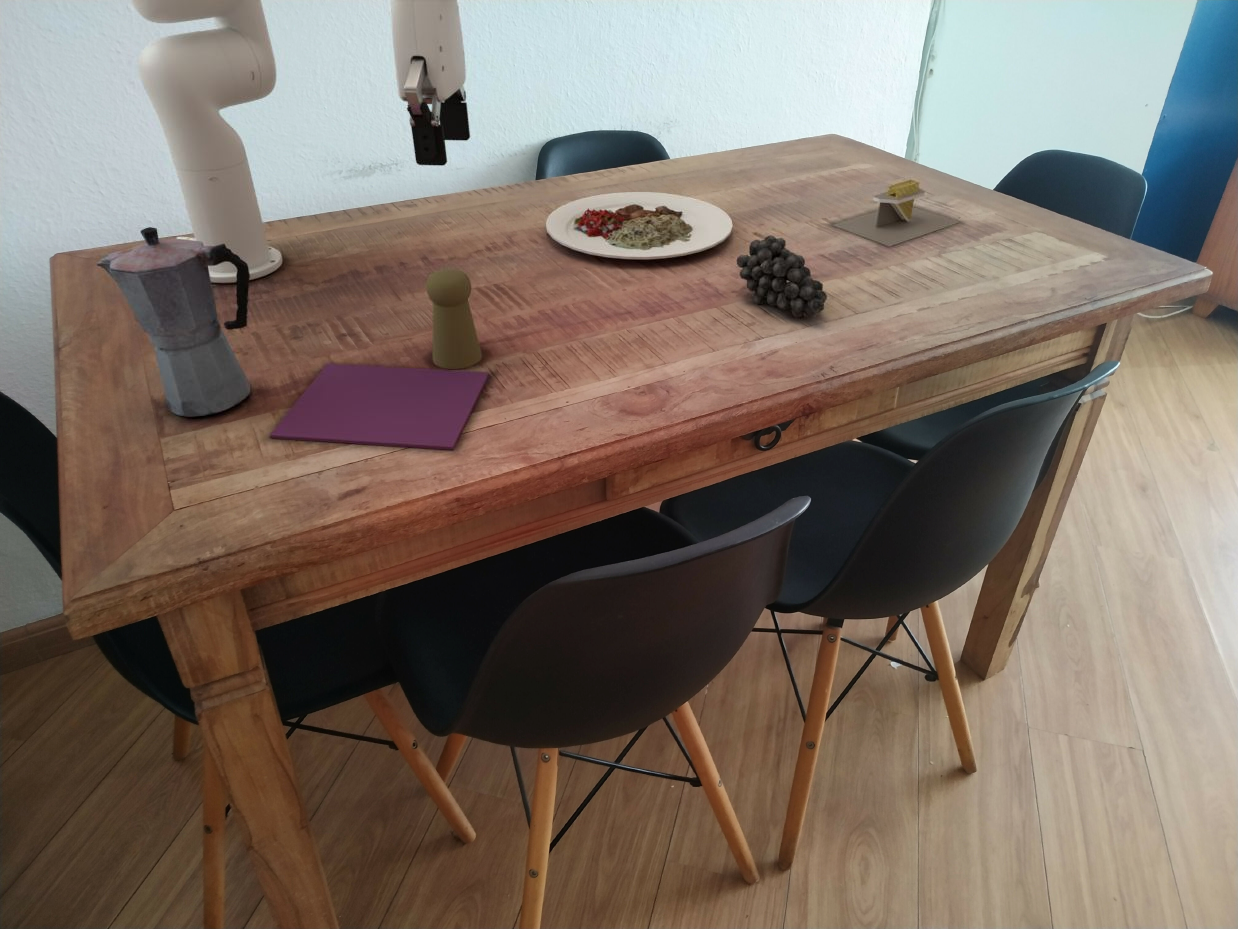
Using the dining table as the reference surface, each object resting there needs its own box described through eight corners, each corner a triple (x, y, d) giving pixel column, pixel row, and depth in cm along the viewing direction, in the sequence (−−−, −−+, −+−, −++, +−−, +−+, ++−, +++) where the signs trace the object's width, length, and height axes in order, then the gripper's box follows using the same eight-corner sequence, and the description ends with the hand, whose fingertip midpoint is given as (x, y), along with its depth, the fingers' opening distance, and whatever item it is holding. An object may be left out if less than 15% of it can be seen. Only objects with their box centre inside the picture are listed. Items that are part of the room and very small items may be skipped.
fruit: (842, 258, 111) (770, 219, 122) (789, 290, 110) (721, 248, 120) (849, 313, 117) (779, 271, 128) (799, 344, 116) (733, 299, 126)
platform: (959, 222, 148) (968, 182, 144) (889, 246, 139) (896, 205, 135) (901, 203, 156) (908, 165, 152) (831, 224, 147) (837, 185, 143)
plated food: (759, 258, 135) (761, 236, 133) (566, 277, 129) (565, 255, 127) (697, 196, 159) (698, 177, 157) (532, 210, 153) (531, 191, 151)
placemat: (270, 438, 94) (269, 435, 94) (327, 366, 108) (327, 363, 107) (453, 450, 93) (452, 446, 92) (489, 375, 106) (489, 372, 105)
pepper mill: (472, 371, 106) (463, 285, 100) (424, 366, 107) (412, 281, 101) (488, 348, 111) (480, 264, 105) (442, 343, 112) (432, 261, 106)
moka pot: (158, 380, 105) (101, 214, 93) (292, 374, 106) (252, 209, 94) (129, 423, 97) (63, 247, 86) (273, 416, 98) (227, 242, 87)
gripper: (412, -36, 95) (433, 130, 104) (355, -16, 81) (385, 174, 90) (481, -36, 94) (495, 131, 104) (436, -16, 80) (457, 176, 90)
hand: (444, 151), depth 97 cm, fingers open, 9 cm apart
